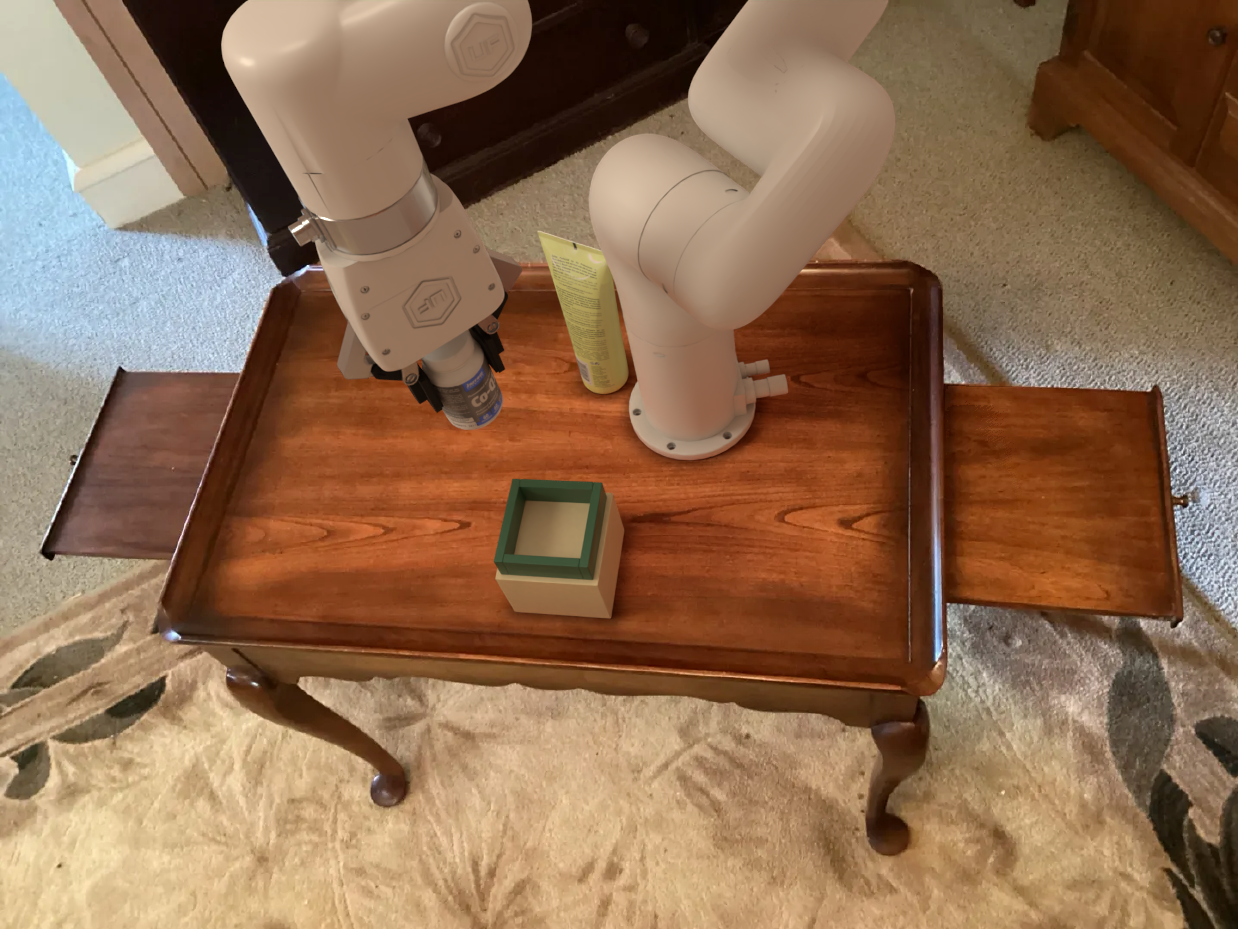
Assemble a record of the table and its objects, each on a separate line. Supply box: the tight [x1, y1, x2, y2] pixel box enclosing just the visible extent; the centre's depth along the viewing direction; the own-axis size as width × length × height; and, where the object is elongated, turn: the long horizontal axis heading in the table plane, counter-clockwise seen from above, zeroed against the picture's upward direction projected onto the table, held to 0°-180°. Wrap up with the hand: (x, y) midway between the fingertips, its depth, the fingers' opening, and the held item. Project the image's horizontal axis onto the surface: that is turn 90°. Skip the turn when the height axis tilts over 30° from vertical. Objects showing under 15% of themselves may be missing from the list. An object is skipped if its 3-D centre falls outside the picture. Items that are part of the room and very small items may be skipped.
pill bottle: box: [420, 330, 504, 431], centre depth 73 cm, size 5×5×8 cm
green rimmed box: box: [493, 478, 625, 619], centre depth 85 cm, size 9×9×10 cm
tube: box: [537, 230, 630, 395], centre depth 92 cm, size 6×5×20 cm
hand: (461, 378), depth 73 cm, fingers closed on pill bottle, 4 cm apart
